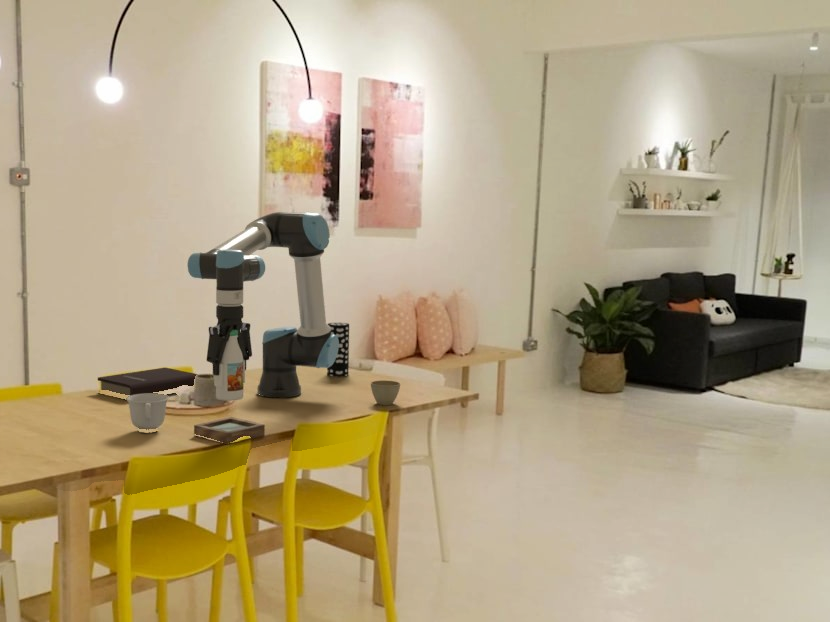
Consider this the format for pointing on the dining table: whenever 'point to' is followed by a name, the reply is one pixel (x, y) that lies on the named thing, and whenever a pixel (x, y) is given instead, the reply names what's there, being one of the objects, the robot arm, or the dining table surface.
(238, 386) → the milk bottle
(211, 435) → the brown wooden square tray
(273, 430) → the dining table surface
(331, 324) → the white-spotted black cylinder
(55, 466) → the dining table surface
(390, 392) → the bowl
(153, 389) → the book
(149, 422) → the teacup
